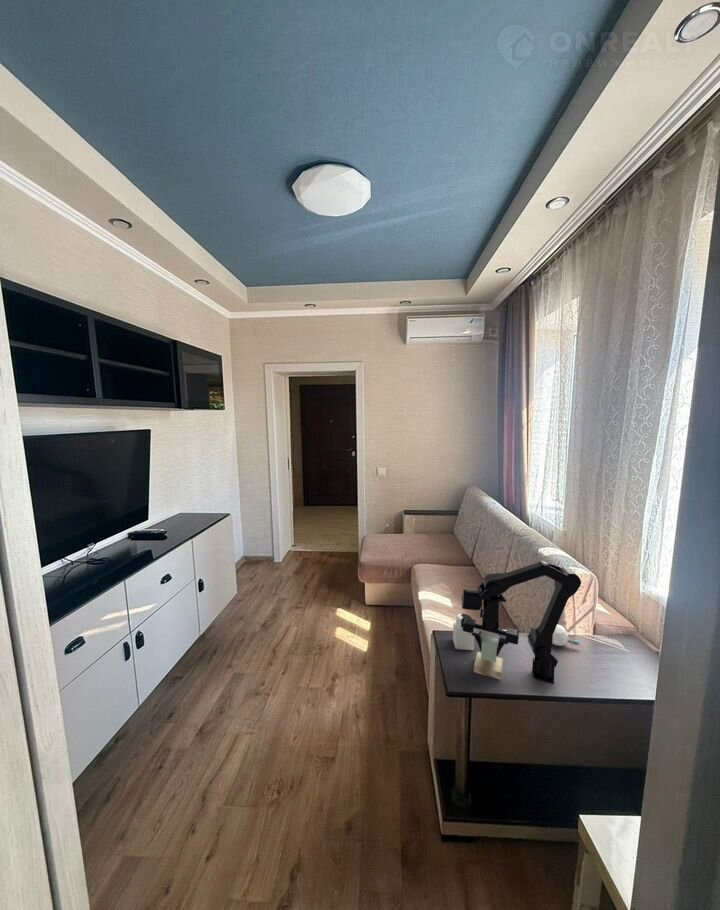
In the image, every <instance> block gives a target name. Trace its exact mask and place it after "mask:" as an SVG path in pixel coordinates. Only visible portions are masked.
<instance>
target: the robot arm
mask: <svg viewBox="0 0 720 910" xmlns="http://www.w3.org/2000/svg"><path fill="white" fill-rule="evenodd" d="M543 576H545V577H548V578H550V579H552V580H554V591H553V593H552V596H551V598H550V601H549V602H548V605H547V608H546V609H545V612H544V614H543V617H542V619H541V622H540V624H539V626H538V627H536V628H534V627H531V628H530V632H529V634H527V635H526V636H527V639H528V640H527V642H528V644H529V646H530V648H531V650H532V653H533V655H534V657H533V658H532V663H531V664H532V669H531V671H532V672H531V673H532V674H533V678H534V679H536V680H540V681H544V682H547V683H551V684H555V670H556V669H555V667H557V666H558V663H559V661H558V659H557V658H556V657H557V656H555V654H554V652H553V650H552V649H553V645H554V644H553V633H554V631H555V629H556V626H557V625H559V621H560V619H561V618H562V614H563V613H564V610H565V608H566V606H567V603H568V600H570V598H572V597H573V596H574V595H575V594H576V593H577V592H578V590H579V589H580V587H581V585H582V580H581V578H580V576H578V574H576V573H575V572H574V571H573V570H572V569H571V568H569V567H561V566H558V565H556V564H552V563H550V562H547V561H545V560H540V561H537V562H534V563H532V564H530V565H526V566H523V567H520V568H517V569H514V570H511V571H508V572H503V573H501V572H494V573H488V574H486V575H485V576H484V577H483V581H482V583H480V584H479V585H478V587H477V588H476V589H477V590H470V589H465V588H463V589H462V594H461V609H462V610H470V611H480V613H479V618H482V623H481V624H478V623H477V619H474V618H472V619H470V618H466V619H465V620H464V623H463V631H464V632H468V633H472V636H474V640H475V641H476V642H477V644H478V645H477V646H478V648H479V650H480V651H479V652H481V648H482V639H483V632H484V633H487V634H488V633H489V634H491V635H492V634H493V635H495V636H496V635H497V636H499V638H498V648H497V657H498V656H499V655H500V652H501V651H502V648H503V647H504V646H505V645H508V644H512V645H519V639H520V638H519V637H520V636H519V635H520V631H519V630H518V629H516V628H512V627H508V626H507V627H506V629H503V628H502V629H500V626H501V617H500V615H501V614H500V613H501V602H502V603H507V599H506V597H505V595H504V593H505V592H507V591H508V590H509V589H510V588H511V587H513V586H516V585H520V584H523V583H526V582H528V581H529V582H530V581H532V580H535V579H538V578H541V577H543Z"/></svg>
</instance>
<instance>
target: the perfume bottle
mask: <svg viewBox="0 0 720 910" xmlns="http://www.w3.org/2000/svg"><path fill="white" fill-rule="evenodd" d="M567 643H569V644H572V645H574V646H580V641H579V640H577V639H576V640H574V639H570V638H569V632H568V631H567V630H566V628H565V627H564V626H563V625H561V624H557V626H556V629H555V631H554V633H553V645H554V646H556V647H557V646H559V647H563V646H564V645H566V644H567Z"/></svg>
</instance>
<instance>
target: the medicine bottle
mask: <svg viewBox="0 0 720 910" xmlns="http://www.w3.org/2000/svg"><path fill="white" fill-rule="evenodd" d="M466 618H470V619H473V618H472V617H471V615H469V614H467V613H458V614H457V615H456V618H455V622H454V623H453V627H452V641H453V645H454V648H455V649H456V650H465V651H474V649H475V637H474V636H472V633H468V632H464V631H463V623H464V620H465V619H466Z"/></svg>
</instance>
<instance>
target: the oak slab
mask: <svg viewBox="0 0 720 910" xmlns="http://www.w3.org/2000/svg"><path fill="white" fill-rule="evenodd" d="M503 665H504V658H502V657H500V656H499V657H498V656H497V659H496V662H493V661H489V660H485V659H482V658H481V651H477V653H476V656H475V660H474V663H473V673H476V674H480V675H483V676H487V677H490V678H493V679H497V680H501V679H502V673H503Z"/></svg>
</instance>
